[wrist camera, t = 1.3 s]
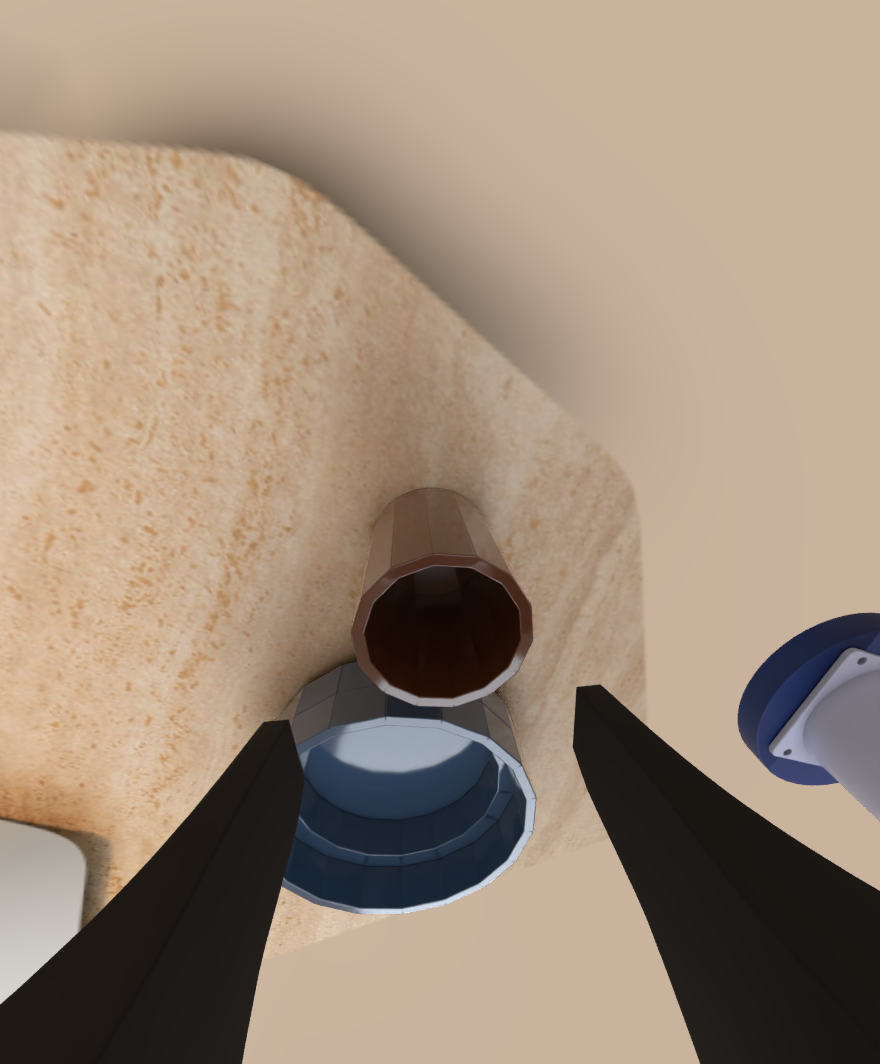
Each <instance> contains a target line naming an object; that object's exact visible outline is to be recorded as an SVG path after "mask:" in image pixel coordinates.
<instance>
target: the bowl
mask: <svg viewBox="0 0 880 1064" xmlns="http://www.w3.org/2000/svg"><path fill="white" fill-rule="evenodd" d="M287 719H289V722H290V726H291V729H292V733H293V737H294V741H295V744H296V748H297V752H298V756H299V759H300V763H301V767H302V771H303V774H304V778H305V780H304V787H303V794H302V801H301V807H300V813H299V819H298V825H297V829H296V833H295V837H294V841H293V844H292V848H291V852H290V856H289V860H288V863H287V867H286V871H285V875H284V878H283V882H282V887H284V888H286V889H287V890H289V891H291V892H293V893H295V894H297V895H299V896H301V897H302V898H304V899H306V900H308V901H310V902H312V903H314V904H316V905H321V906H325V907H330V908H334V909H338V910H343V911H347V912H351V913H356V914H357V913H358V914H402V913H403V914H405V913H409V912H415V911H419V910H424V909H429V908H434V907H438V906H443V905H446V904H449V903H451V902H453V901H456V900H458V899H460V898H462V897H464V896H467V895H469V894H471V893H473V892H475V891H478V890H480V889H482V888H484V887H486V886H487V885H488V884H489V883H490V882H492V881H493V880H494V879H495V878H497V877H498V876H499V875H500V874H501V873H503V872H504V871H505V870H506V869H507V868H509V867H510V866H511V865H512V864H513V863H514V862H515V861H516V860H517V858H518V857H519V855H520V853H521V852H522V850H523V848H524V846H525V845H526V843H527V841H528V840H529V838H530V836H531V835H532V833H533V830H534V820H535V809H536V794H535V790H534V787H533V784H532V780H531V777H530V774H529V771H528V767H527V764H526V761H525V758H524V754H523V751H522V748H521V744H520V741H519V738H518V735H517V731H516V729H515V726H514V724H513V721H512V719H511V717H510V714H509V712H508V710H507V707H506V705H505V703H504V701H503V699H501V698H500V697H499V696H498V695H497V694H496V693H495V692H493V693H492V694H489V695H488V696H486V697H483V698H480V699H477V700H474V701H471V702H468V703H465V704H462V705H459V706H456V707H429V706H414V705H412V704H410V703H407V702H405V701H403V700H400V699H398V698H395V697H393V696H391V695H388V694H386V693H384V692H383V691H381V690H380V689H379V688H378V687H377V686H376V685H375V683H374V682H373V681H372V680H371V679H370V678H369V677H368V676H367V675H366V674H365V673H364V671H363V670H362V669H361V668H360V667H359V665H358V662H353V663H348V664H344V665H341V666H339V667H338V668H336V669H334V670H332V671H330V672H329V673H327V674H325V675H323V676H322V677H320V678H318V679H316V680H314V681H313V682H311V683H309V684H307V685H306V686H305V687H303V688H302V689H301V691H300V692H299V693H298V694H297V695H296V697H295V698H294V699H293V700H292V701H291V703H290V704H289V705H288V706H287V707H286V709H285V710H284V711H283V712H282V713H281V715H280V716H279V718H278V720H287Z"/></svg>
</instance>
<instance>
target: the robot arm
mask: <svg viewBox="0 0 880 1064" xmlns="http://www.w3.org/2000/svg"><path fill="white" fill-rule="evenodd" d="M573 749H574V752H575V755H576V758H577V761H578V764H579V767H580V770H581V773H582V776H583V779H584V781H585V784H586V787H587V790H588V792H589V794H590V796H591V799H592V801H593V803H594V805H595V807H596V810H597V812H598V814H599V816H600V818H601V820H602V823H603V825H604V827H605V829H606V831H607V833H608V835H609V837H610V840H611V842H612V844H613V846H614V848H615V850H616V852H617V854H618V857H619V859H620V861H621V863H622V865H623V867H624V869H625V872H626V874H627V876H628V878H629V880H630V882H631V884H632V886H633V889H634V891H635V893H636V895H637V897H638V900H639V902H640V904H641V907H642V909H643V911H644V914H645V916H646V918H647V921H648V923H649V926H650V928H651V931H652V934H653V936H654V939H655V942H656V944H657V947H658V950H659V952H660V955H661V957H662V960H663V963H664V965H665V968H666V970H667V973H668V976H669V979H670V981H671V984H672V987H673V990H674V992H675V995H676V998H677V1001H678V1003H679V1006H680V1009H681V1012H682V1014H683V1017H684V1020H685V1023H686V1025H687V1028H688V1031H689V1034H690V1036H691V1039H692V1042H693V1045H694V1047H695V1050H696V1053H697V1056H698V1059H699V1061H700V1064H880V891H879V890H877V889H876V888H874V887H872V886H871V885H869V884H867V883H865V882H864V881H862V880H860V879H859V878H857V877H855V876H853V875H852V874H850V873H849V872H847V871H845V870H844V869H842V868H841V867H839V866H837V865H836V864H834V863H832V862H831V861H829V860H828V859H826V858H824V857H823V856H821V855H820V854H818V853H816V852H815V851H813V850H811V849H810V848H808V847H807V846H805V845H804V844H802V843H800V842H799V841H797V840H796V839H794V838H793V837H791V836H790V835H788V834H787V833H785V832H783V831H782V830H781V829H779V828H778V827H776V826H775V825H773V824H772V823H770V822H769V821H767V820H766V819H765V818H763V817H762V816H760V815H759V814H758V813H756V812H755V811H753V810H752V809H750V808H749V807H747V806H746V805H745V804H743V803H742V802H740V801H739V800H738V799H736V798H735V797H733V796H732V795H731V794H729V793H728V792H727V791H725V790H724V789H723V788H721V787H720V786H719V785H717V784H716V783H715V782H714V781H712V780H711V779H710V778H708V777H707V776H706V775H705V774H703V773H702V772H701V771H699V770H698V769H697V768H696V767H695V766H693V765H692V764H691V763H690V762H688V761H687V760H686V759H685V758H683V757H682V756H681V755H680V754H679V753H677V752H676V751H675V750H674V749H673V748H672V747H670V746H669V745H668V744H667V743H666V742H664V741H663V740H662V739H661V738H660V737H658V736H657V735H656V734H655V733H654V732H653V731H652V730H650V729H649V728H648V727H647V726H646V725H645V724H644V723H643V722H641V721H640V720H639V719H638V718H637V717H636V716H635V715H634V714H633V713H631V712H630V711H629V710H628V709H627V708H626V707H625V706H624V705H623V704H621V703H620V702H619V701H618V700H617V699H616V698H615V697H614V696H613V695H612V694H610V693H609V692H608V691H607V690H606V689H605V688H604V687H603V686H601V685H591V686H583V687H577V689H576V705H575V721H574V737H573ZM769 751H770V752H771V753H772V754H773V755H774V756H777V757H782V758H786V759H791V760H795V761H800V762H804V763H809V764H813V765H818V766H822V767H823V768H824V769H825V770H827V771H828V772H829V773H830V774H831V775H832V776H833V777H834V778H835V779H836V780H837V781H838V782H839V783H840V784H841V785H842V786H843V787H844V788H845V789H846V790H848V791H849V792H850V793H851V794H852V795H853V796H854V797H855V798H856V799H857V800H858V801H859V802H860V803H861V804H862V805H863V806H864V807H865V808H866V809H867V810H868V811H869V812H871V813H872V814H873V815H874V816H875V817H876V818H877V819H878V820H879V821H880V655H877V654H874V653H870V652H867V651H864V650H860V649H857V648H848V649H846V650H844V651H843V652H842V653H841V655H840V656H839V657H838V658H837V660H836V661H835V662H834V663H833V665H832V666H831V667H830V669H829V670H828V671H827V672H826V674H825V675H824V676H823V677H822V679H821V680H820V681H819V682H818V684H817V685H816V686H815V688H814V689H813V690H812V691H811V693H810V694H809V695H808V696H807V698H806V699H805V700H804V701H803V703H802V704H801V705H800V707H799V708H798V709H797V710H796V712H795V713H794V714H793V715H792V717H791V718H790V719H789V720H788V722H787V723H786V724H785V726H784V727H783V728H782V729H781V731H780V732H779V733H778V734H777V736H776V737H775V738H774V739H773V741H772V742H771V743H770V745H769ZM304 780H305V778H304V774H303V771H302V767H301V763H300V759H299V756H298V752H297V748H296V744H295V741H294V737H293V733H292V729H291V726H290V722H289V719H287V720H278V721H269V722H263V724H262V725H261V726H260V727H259V728H258V730H257V731H256V732H255V733H254V735H253V736H252V737H251V738H250V740H249V741H248V742H247V744H246V745H245V746H244V747H243V749H242V750H241V751H240V753H239V754H238V755H237V756H236V758H235V759H234V760H233V762H232V763H231V764H230V765H229V767H228V768H227V769H226V770H225V772H224V773H223V774H222V776H221V777H220V778H219V779H218V780H217V782H216V783H215V784H214V785H213V787H212V788H211V789H210V790H209V792H208V793H207V794H206V795H205V796H204V798H203V799H202V800H201V801H200V803H199V804H198V805H197V806H196V807H195V809H194V810H193V811H192V812H191V813H190V815H189V816H188V817H187V818H186V819H185V820H184V822H183V823H182V824H181V825H180V826H179V827H178V828H177V830H176V831H175V832H174V833H173V834H172V835H171V836H170V838H169V839H168V840H167V841H166V842H165V843H164V844H163V846H162V847H161V848H160V849H159V850H158V851H157V852H156V853H155V855H154V856H153V857H152V858H151V859H150V860H149V861H148V862H147V863H146V864H145V865H144V867H143V868H142V869H141V870H140V871H139V872H138V873H137V874H136V875H135V876H134V877H133V878H132V879H131V880H130V881H129V883H128V884H127V885H126V886H125V887H124V888H123V889H122V890H121V891H120V892H119V893H118V894H117V895H116V896H115V897H114V898H113V899H112V900H111V901H110V902H109V903H108V904H107V905H106V906H105V907H104V908H103V909H102V910H101V911H100V912H99V913H98V914H97V915H96V916H95V917H94V918H93V919H92V920H91V921H90V922H89V923H88V924H87V925H86V926H85V927H84V928H83V929H82V930H81V931H80V932H79V933H77V934H76V935H75V936H74V937H73V938H72V939H71V940H70V941H69V942H68V943H67V944H66V945H65V946H64V947H63V948H61V949H60V950H59V951H58V952H57V953H56V954H55V955H54V956H53V957H52V958H51V959H50V960H49V961H48V962H47V963H46V964H44V966H42V967H41V968H40V969H39V970H38V971H37V972H36V973H35V974H34V975H33V976H32V977H31V978H29V979H28V980H27V981H26V982H25V983H24V984H23V985H22V986H21V987H20V988H18V989H17V990H16V991H15V992H14V993H13V994H12V995H11V996H9V997H8V998H7V999H6V1000H5V1001H4V1002H3V1003H2V1004H0V1064H242V1060H243V1054H244V1049H245V1043H246V1037H247V1032H248V1027H249V1022H250V1017H251V1011H252V1006H253V1001H254V995H255V990H256V985H257V980H258V975H259V970H260V966H261V962H262V958H263V953H264V949H265V945H266V941H267V937H268V934H269V930H270V926H271V923H272V919H273V915H274V912H275V908H276V904H277V900H278V897H279V893H280V889H281V886H282V882H283V878H284V875H285V871H286V867H287V863H288V860H289V856H290V852H291V848H292V844H293V841H294V837H295V833H296V829H297V825H298V819H299V813H300V807H301V801H302V794H303V787H304Z"/></svg>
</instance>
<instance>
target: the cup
mask: <svg viewBox="0 0 880 1064" xmlns="http://www.w3.org/2000/svg"><path fill="white" fill-rule="evenodd" d="M351 637H352V641H353V645H354V649H355V653H356V658H357V662H358V665H359V667H360V668H361V669H362V670H363V671H364V673H365V674H366V675H367V676H368V677H369V678H370V679H371V680H372V681H373V682H374V683H375V685H376V686H377V687H378V688H379V689H380V690H381V691H383V692H384V693H386V694H388V695H391V696H393V697H395V698H398V699H400V700H403V701H405V702H407V703H410V704H412V705H414V706H429V707H456V706H459V705H462V704H465V703H468V702H471V701H474V700H477V699H480V698H483V697H486V696H488V695H489V694H492V693H493V692H494V691H495V690H496V689H498V688H499V687H500V686H501V685H502V684H504V683H505V682H506V681H507V680H508V679H510V678H511V677H512V676H513V675H515V674H516V673H517V671H518V670H519V668H520V666H521V664H522V662H523V660H524V658H525V656H526V654H527V652H528V650H529V648H530V646H531V644H532V642H533V623H532V606H531V603H530V601H529V600H528V598H527V596H526V594H525V592H524V590H523V588H522V586H521V584H520V583H519V581H518V579H517V577H516V575H515V573H514V571H513V569H512V568H511V566H510V564H509V562H508V560H507V558H506V556H505V554H504V552H503V551H502V549H501V547H500V545H499V543H498V541H497V539H496V537H495V535H494V534H493V532H492V530H491V528H490V526H489V525H488V523H487V522H486V520H485V519H484V517H483V515H482V513H481V512H480V511H479V509H478V508H477V507H476V506H475V505H474V504H473V503H472V502H471V501H469V500H468V499H467V498H465V497H464V496H462V495H460V494H458V493H455V492H453V491H450V490H446V489H440V488H424V489H418V490H414V491H411V492H408V493H406V494H404V495H402V496H400V497H398V498H397V499H395V500H394V501H393V502H391V503H390V504H389V505H388V506H387V507H386V508H385V509H384V510H383V512H382V513H381V514H380V516H379V518H378V519H377V521H376V523H375V526H374V529H373V532H372V536H371V540H370V543H369V547H368V551H367V556H366V561H365V566H364V570H363V575H362V580H361V584H360V589H359V594H358V598H357V603H356V608H355V613H354V617H353V622H352V627H351Z"/></svg>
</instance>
